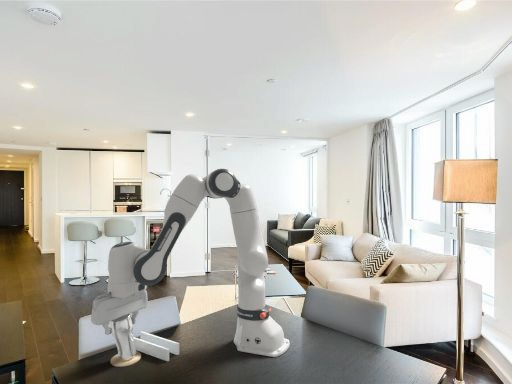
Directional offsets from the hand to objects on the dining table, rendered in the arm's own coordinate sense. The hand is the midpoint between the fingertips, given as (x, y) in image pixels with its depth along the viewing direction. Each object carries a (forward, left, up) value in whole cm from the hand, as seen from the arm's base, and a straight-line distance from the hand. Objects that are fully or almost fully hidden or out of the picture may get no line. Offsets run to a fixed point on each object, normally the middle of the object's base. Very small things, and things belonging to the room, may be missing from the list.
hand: (120, 328), depth 105 cm
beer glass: (0, -3, -11) cm, 11 cm away
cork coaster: (0, -2, -12) cm, 12 cm away
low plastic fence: (-4, -11, -12) cm, 17 cm away
